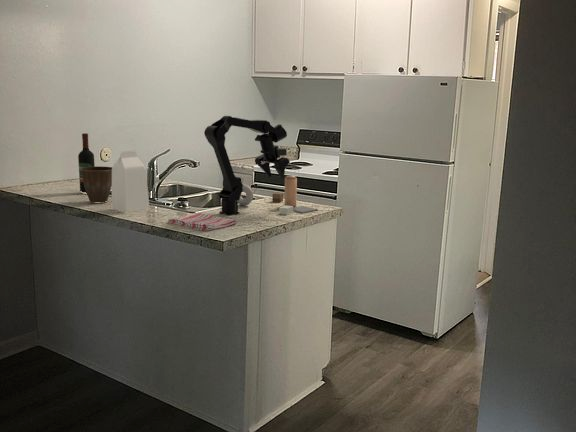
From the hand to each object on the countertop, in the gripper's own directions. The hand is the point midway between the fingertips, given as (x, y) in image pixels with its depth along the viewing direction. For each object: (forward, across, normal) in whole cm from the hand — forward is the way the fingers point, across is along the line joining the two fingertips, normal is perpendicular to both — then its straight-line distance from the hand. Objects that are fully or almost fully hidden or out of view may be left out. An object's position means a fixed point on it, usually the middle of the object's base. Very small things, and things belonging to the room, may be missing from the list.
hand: (276, 178), depth 278 cm
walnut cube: (+16, +10, -4) cm, 19 cm away
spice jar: (+15, -2, -2) cm, 15 cm away
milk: (-7, +32, +58) cm, 67 cm away
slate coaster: (+14, -13, 0) cm, 19 cm away
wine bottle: (-7, +82, +57) cm, 101 cm away
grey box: (+11, -14, +10) cm, 20 cm away
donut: (+9, +11, +15) cm, 21 cm away
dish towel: (-3, -10, +49) cm, 50 cm away
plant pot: (-9, +56, +62) cm, 84 cm away
